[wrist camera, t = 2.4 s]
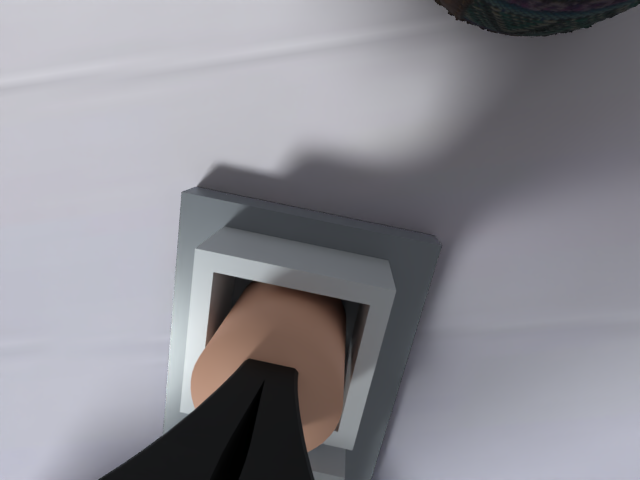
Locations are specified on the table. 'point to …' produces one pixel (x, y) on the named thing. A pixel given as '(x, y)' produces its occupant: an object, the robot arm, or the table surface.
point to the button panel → (311, 276)
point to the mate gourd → (534, 14)
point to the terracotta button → (283, 350)
